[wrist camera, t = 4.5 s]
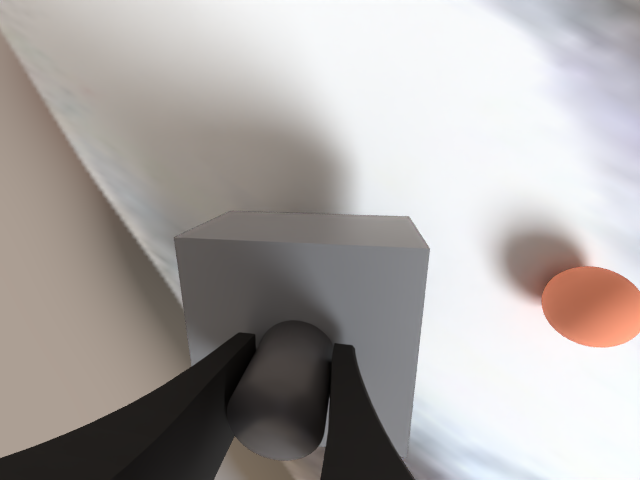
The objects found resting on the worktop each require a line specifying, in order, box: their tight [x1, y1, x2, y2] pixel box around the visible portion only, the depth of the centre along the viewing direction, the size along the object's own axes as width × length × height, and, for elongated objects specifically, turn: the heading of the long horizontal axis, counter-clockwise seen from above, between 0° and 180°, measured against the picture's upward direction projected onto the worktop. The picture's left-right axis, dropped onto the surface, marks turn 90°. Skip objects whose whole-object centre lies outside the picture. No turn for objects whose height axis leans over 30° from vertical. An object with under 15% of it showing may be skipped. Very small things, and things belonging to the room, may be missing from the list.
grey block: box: [174, 211, 430, 461], centre depth 12 cm, size 9×9×8 cm
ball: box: [542, 266, 640, 347], centre depth 16 cm, size 4×4×4 cm
